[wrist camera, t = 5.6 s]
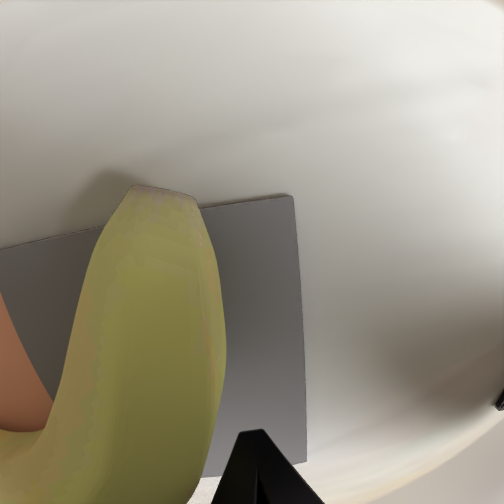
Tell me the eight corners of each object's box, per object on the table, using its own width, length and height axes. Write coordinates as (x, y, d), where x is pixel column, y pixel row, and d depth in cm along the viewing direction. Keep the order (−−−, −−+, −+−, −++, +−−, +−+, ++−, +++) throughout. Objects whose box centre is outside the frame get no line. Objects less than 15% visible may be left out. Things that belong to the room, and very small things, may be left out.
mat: (291, 195, 8) (293, 196, 8) (305, 458, 12) (306, 461, 12) (-9, 252, 8) (-12, 254, 7) (108, 474, 11) (107, 476, 11)
